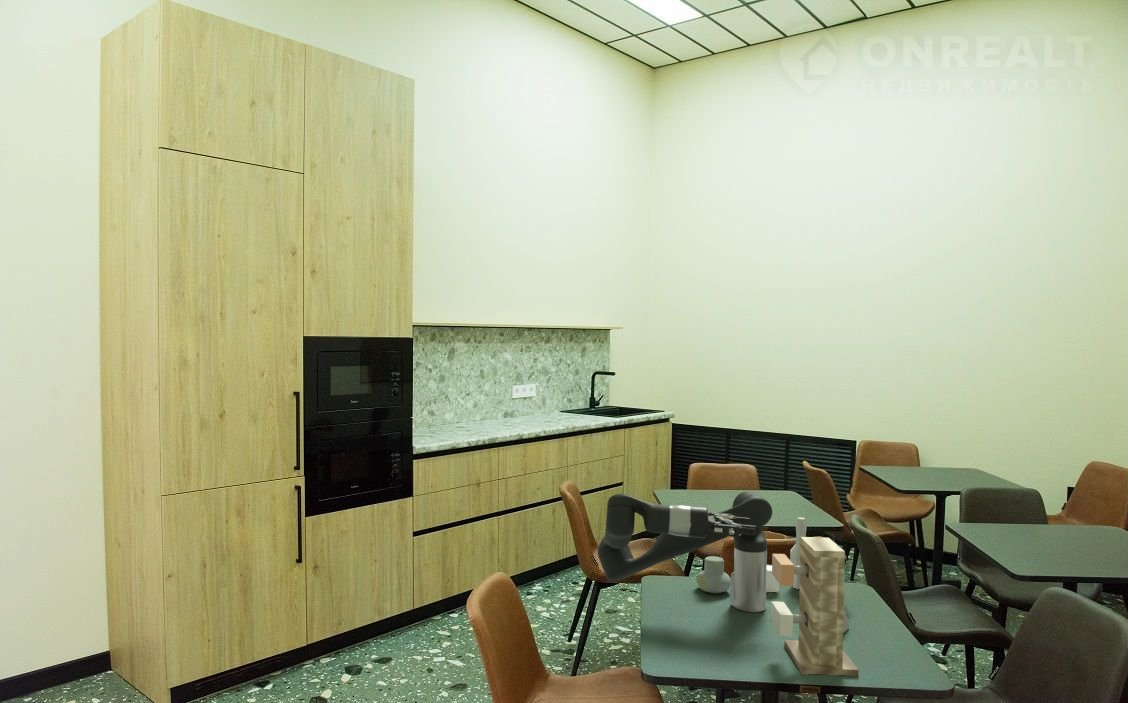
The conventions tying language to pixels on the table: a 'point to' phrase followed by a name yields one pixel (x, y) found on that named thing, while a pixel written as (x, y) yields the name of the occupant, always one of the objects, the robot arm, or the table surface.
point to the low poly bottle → (798, 548)
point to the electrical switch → (845, 622)
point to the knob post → (821, 611)
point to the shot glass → (771, 581)
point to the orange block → (786, 569)
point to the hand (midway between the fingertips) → (753, 526)
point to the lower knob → (785, 618)
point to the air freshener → (713, 576)
